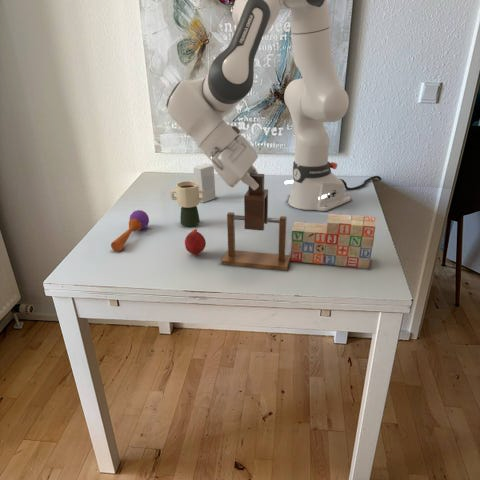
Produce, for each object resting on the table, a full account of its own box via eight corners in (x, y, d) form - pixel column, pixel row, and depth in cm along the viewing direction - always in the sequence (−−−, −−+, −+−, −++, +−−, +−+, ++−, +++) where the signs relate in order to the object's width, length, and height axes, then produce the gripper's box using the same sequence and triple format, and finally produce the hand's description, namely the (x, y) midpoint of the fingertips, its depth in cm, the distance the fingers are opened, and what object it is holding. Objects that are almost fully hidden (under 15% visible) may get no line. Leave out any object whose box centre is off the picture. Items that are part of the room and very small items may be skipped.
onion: (198, 261, 135) (196, 235, 131) (181, 256, 138) (179, 230, 133) (210, 253, 139) (208, 227, 135) (194, 249, 142) (192, 223, 137)
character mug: (208, 220, 160) (206, 181, 153) (205, 228, 154) (202, 188, 147) (176, 219, 161) (172, 180, 154) (171, 228, 155) (167, 187, 148)
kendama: (103, 238, 140) (131, 208, 155) (111, 256, 143) (137, 225, 158) (121, 236, 138) (148, 206, 153) (129, 254, 141) (154, 223, 156)
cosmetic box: (208, 195, 179) (206, 162, 172) (215, 198, 176) (214, 165, 170) (195, 200, 175) (193, 166, 169) (203, 203, 173) (201, 169, 166)
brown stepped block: (249, 220, 131) (249, 170, 124) (267, 222, 130) (268, 172, 123) (244, 229, 127) (244, 177, 119) (263, 230, 126) (264, 179, 118)
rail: (221, 264, 134) (219, 217, 126) (228, 253, 139) (226, 208, 132) (286, 270, 130) (288, 223, 122) (290, 259, 136) (292, 213, 128)
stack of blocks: (289, 261, 134) (291, 219, 127) (293, 252, 139) (295, 210, 132) (369, 269, 130) (376, 225, 123) (369, 258, 135) (376, 216, 128)
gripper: (216, 145, 109) (259, 191, 112) (238, 125, 125) (275, 165, 129) (198, 164, 112) (240, 208, 116) (222, 142, 129) (258, 180, 132)
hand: (258, 185), depth 122 cm, fingers closed on brown stepped block, 2 cm apart
